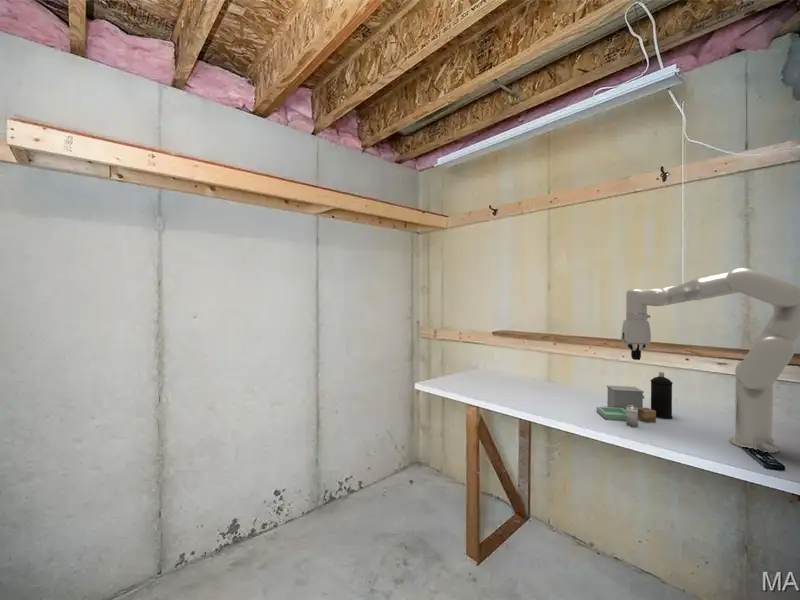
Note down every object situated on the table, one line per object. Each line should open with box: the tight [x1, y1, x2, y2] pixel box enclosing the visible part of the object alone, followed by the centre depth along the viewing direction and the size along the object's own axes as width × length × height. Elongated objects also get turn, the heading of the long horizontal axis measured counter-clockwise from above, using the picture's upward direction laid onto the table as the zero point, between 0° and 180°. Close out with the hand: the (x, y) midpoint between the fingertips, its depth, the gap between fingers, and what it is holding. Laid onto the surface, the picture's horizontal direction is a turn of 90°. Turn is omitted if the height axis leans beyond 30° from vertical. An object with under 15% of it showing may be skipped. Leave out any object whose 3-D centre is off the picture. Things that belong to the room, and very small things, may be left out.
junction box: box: [606, 385, 645, 410], centre depth 167 cm, size 9×14×11 cm, turn 80°
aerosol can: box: [650, 371, 674, 420], centre depth 159 cm, size 8×8×20 cm
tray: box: [596, 406, 626, 422], centre depth 158 cm, size 11×11×2 cm
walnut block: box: [638, 407, 657, 424], centre depth 153 cm, size 5×5×5 cm
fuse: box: [625, 404, 639, 428], centre depth 147 cm, size 4×4×9 cm
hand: (636, 359), depth 152 cm, fingers closed
